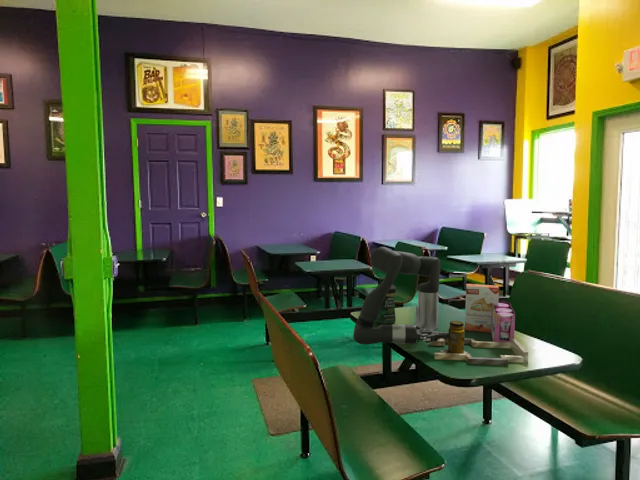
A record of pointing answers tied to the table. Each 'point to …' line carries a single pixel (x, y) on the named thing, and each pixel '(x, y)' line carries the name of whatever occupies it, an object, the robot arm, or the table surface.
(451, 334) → the condiment
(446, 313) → the table surface
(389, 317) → the coffee jar
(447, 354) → the lane
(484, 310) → the cracker box
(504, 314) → the gum box
